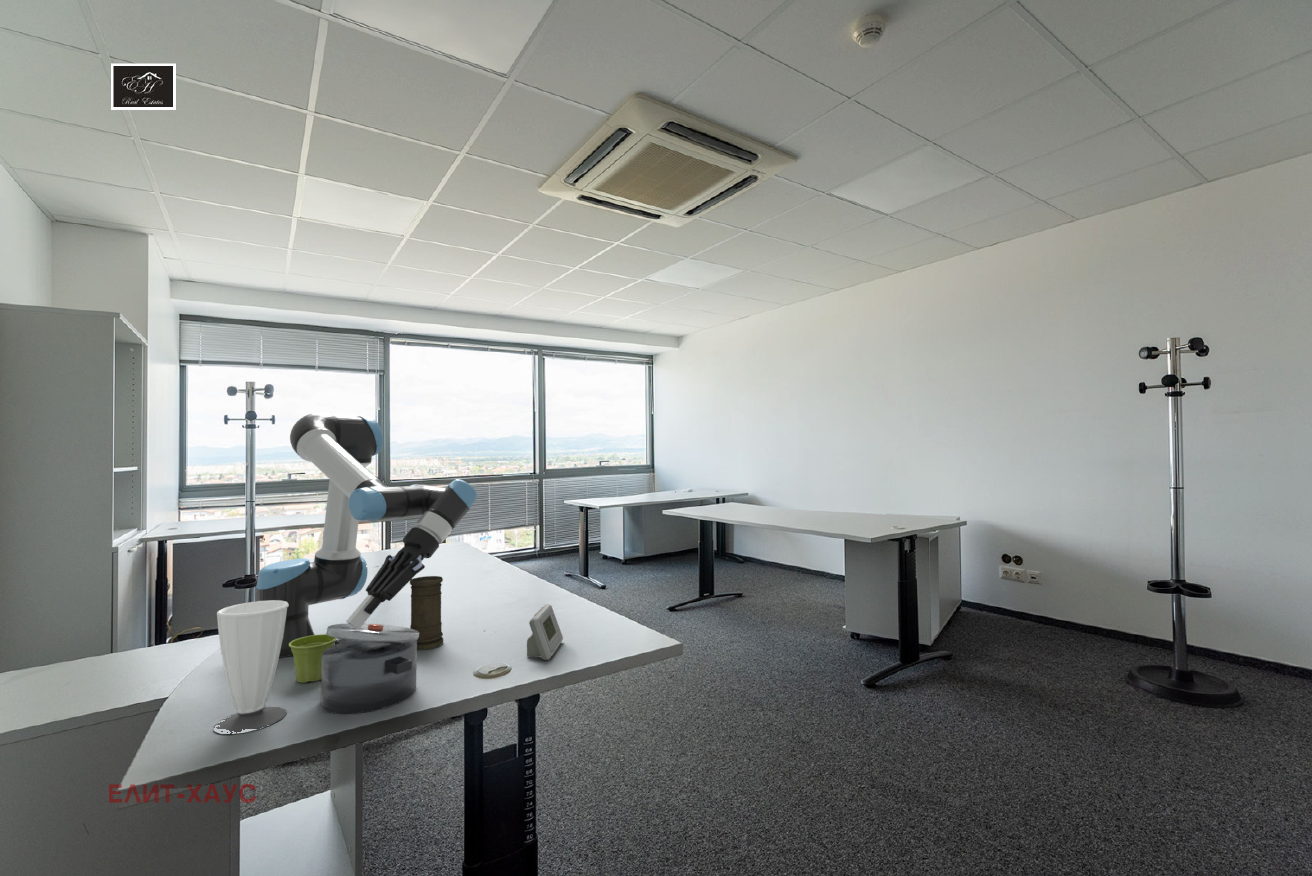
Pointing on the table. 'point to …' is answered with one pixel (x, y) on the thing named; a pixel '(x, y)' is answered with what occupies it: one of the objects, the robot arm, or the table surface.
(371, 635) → the pot lid
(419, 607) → the container
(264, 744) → the table surface
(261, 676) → the cup
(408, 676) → the cooking pot
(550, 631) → the digital clock
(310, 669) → the plant pot
